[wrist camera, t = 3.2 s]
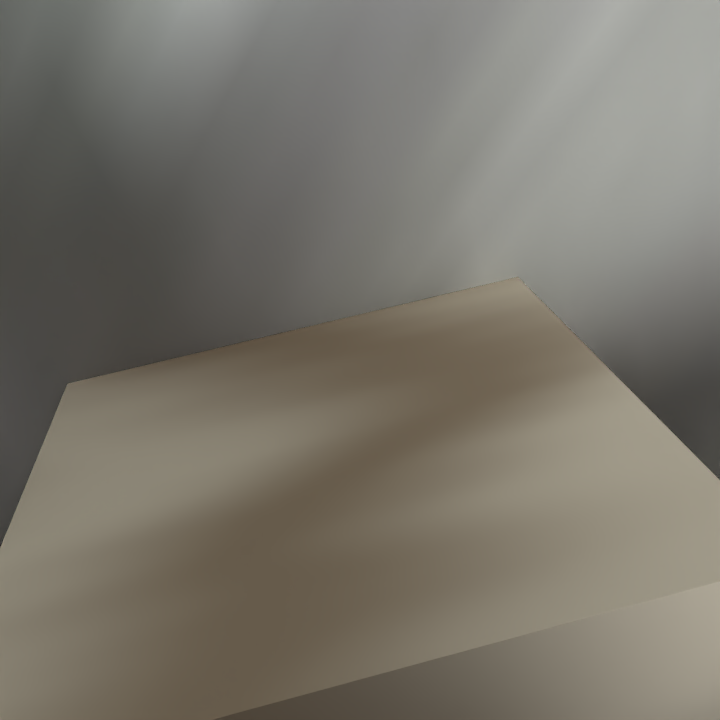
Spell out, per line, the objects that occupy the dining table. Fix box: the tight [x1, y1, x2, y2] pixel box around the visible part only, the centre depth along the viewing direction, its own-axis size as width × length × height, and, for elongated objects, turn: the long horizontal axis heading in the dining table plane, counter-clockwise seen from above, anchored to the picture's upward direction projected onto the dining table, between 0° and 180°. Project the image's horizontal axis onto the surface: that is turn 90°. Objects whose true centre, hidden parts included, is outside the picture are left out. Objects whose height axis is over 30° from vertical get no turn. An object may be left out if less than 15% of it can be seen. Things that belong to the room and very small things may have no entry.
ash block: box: [0, 277, 720, 720], centre depth 8 cm, size 6×6×5 cm
